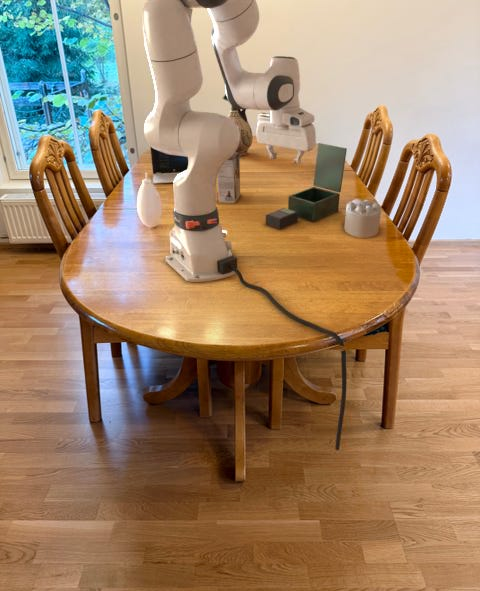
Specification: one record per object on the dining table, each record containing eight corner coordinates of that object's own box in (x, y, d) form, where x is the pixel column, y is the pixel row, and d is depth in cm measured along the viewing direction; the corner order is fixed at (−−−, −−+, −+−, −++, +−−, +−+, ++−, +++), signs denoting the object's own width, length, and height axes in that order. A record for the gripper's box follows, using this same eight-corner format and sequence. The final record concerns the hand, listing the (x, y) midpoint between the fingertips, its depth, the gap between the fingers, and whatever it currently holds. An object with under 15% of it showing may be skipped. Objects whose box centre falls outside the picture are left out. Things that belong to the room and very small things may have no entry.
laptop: (152, 184, 196) (149, 151, 189) (153, 175, 207) (149, 144, 200) (197, 182, 198) (195, 149, 191) (195, 173, 209) (193, 142, 202)
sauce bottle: (140, 232, 154) (133, 176, 145) (138, 223, 160) (131, 169, 151) (165, 229, 155) (160, 173, 146) (162, 220, 162) (157, 166, 153)
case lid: (345, 148, 157) (354, 147, 161) (318, 143, 164) (326, 142, 167) (339, 192, 164) (347, 190, 167) (313, 185, 171) (321, 183, 174)
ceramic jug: (216, 157, 232) (213, 89, 217) (226, 149, 245) (224, 84, 230) (250, 159, 228) (250, 90, 212) (259, 151, 240) (259, 85, 225)
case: (313, 222, 159) (315, 203, 156) (287, 213, 166) (288, 196, 163) (338, 211, 168) (339, 193, 164) (312, 203, 174) (313, 186, 171)
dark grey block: (279, 229, 154) (279, 219, 152) (265, 224, 158) (265, 214, 156) (297, 222, 160) (298, 211, 158) (283, 217, 163) (284, 207, 162)
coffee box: (223, 194, 184) (222, 151, 176) (240, 195, 183) (240, 152, 175) (218, 202, 177) (216, 158, 169) (235, 203, 176) (234, 158, 167)
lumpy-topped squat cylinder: (376, 222, 158) (379, 196, 154) (379, 238, 147) (383, 211, 143) (343, 221, 160) (346, 195, 155) (344, 237, 149) (347, 209, 144)
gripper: (251, 114, 150) (253, 158, 158) (307, 121, 138) (306, 169, 146) (263, 109, 154) (265, 153, 161) (319, 116, 142) (317, 163, 150)
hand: (285, 161), depth 154 cm, fingers open, 8 cm apart
